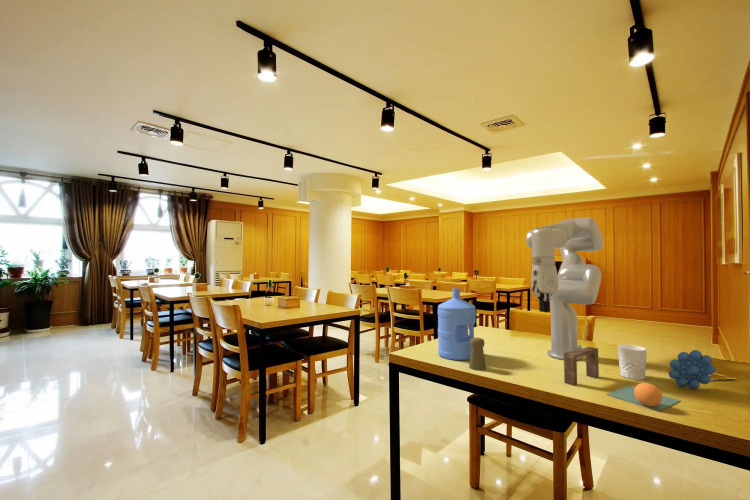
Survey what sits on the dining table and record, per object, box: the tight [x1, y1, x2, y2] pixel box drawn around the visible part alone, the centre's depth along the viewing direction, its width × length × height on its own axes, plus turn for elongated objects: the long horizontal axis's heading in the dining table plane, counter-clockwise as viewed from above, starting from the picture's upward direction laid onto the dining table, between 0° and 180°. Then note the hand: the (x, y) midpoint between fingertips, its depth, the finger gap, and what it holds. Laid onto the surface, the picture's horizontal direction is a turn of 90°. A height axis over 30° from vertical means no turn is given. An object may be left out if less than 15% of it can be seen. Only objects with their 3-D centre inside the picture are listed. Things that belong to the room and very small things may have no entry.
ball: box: [634, 382, 662, 407], centre depth 93 cm, size 6×6×6 cm
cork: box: [468, 337, 487, 371], centre depth 126 cm, size 6×6×11 cm
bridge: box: [563, 346, 600, 386], centre depth 113 cm, size 3×15×10 cm, turn 120°
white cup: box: [617, 344, 647, 381], centre depth 116 cm, size 8×8×10 cm
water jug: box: [437, 288, 477, 361], centre depth 143 cm, size 16×16×28 cm
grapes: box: [668, 349, 717, 390], centre depth 106 cm, size 12×7×12 cm, turn 71°
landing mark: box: [606, 385, 681, 412], centre depth 98 cm, size 13×13×1 cm
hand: (544, 311), depth 125 cm, fingers closed
